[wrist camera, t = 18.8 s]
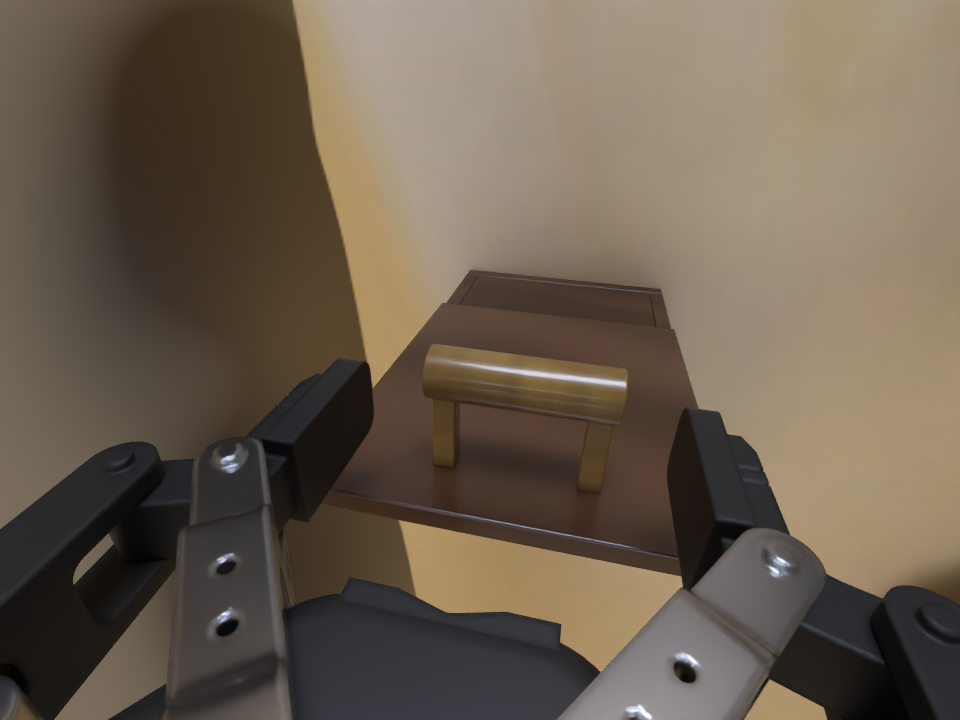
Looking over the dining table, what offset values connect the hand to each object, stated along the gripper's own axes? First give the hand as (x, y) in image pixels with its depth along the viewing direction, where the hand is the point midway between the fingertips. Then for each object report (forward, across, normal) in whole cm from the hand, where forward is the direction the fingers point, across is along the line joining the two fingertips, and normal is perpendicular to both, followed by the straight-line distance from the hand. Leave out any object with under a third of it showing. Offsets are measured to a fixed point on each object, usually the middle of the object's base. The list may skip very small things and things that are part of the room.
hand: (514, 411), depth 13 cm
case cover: (+7, 0, +4) cm, 8 cm away
